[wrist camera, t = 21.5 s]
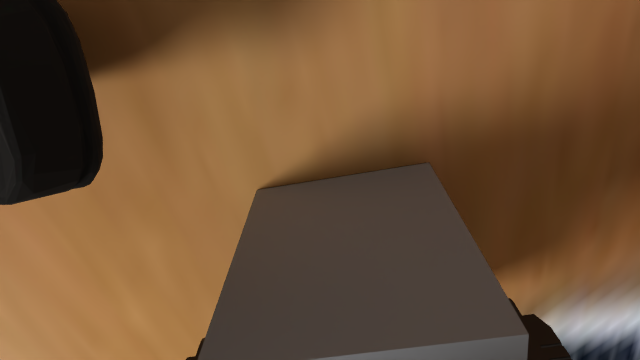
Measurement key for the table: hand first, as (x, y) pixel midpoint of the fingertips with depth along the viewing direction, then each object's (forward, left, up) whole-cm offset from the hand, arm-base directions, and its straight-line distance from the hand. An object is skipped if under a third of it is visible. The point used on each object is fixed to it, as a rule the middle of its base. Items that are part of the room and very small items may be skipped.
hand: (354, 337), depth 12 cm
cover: (0, 0, -5) cm, 5 cm away
